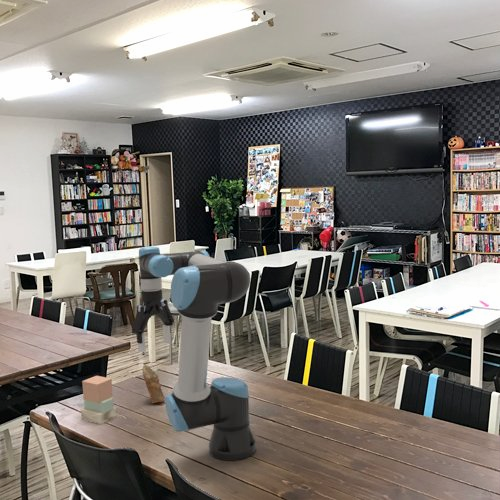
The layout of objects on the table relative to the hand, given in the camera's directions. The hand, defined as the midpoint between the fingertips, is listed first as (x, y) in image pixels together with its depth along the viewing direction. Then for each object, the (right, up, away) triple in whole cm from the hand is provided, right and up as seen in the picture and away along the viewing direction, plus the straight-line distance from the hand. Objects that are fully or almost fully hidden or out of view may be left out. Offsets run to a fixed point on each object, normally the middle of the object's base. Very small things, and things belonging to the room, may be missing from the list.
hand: (155, 347), depth 210 cm
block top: (-22, -24, +6) cm, 33 cm away
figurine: (-3, -25, +21) cm, 33 cm away
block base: (-22, -28, +6) cm, 36 cm away
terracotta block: (-22, -20, +6) cm, 30 cm away
